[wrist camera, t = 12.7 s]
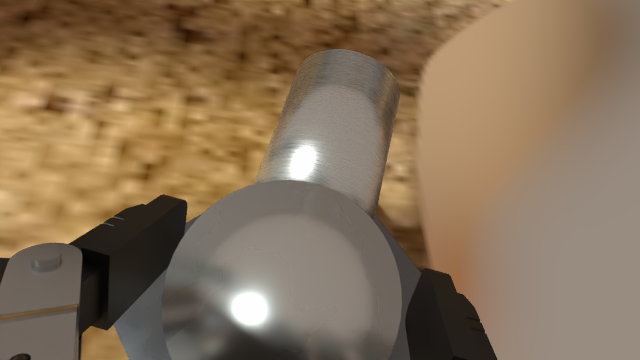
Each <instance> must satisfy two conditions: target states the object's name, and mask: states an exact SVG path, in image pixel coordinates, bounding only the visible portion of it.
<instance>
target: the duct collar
mask: <svg viewBox="0 0 640 360" xmlns="http://www.w3.org/2000/svg"><path fill="white" fill-rule="evenodd" d="M253 185H254V184H253ZM201 215H202V214H201ZM201 215H199V216H198V217H196V218H194V219H192V220H191V221H189V222H187V223H186V224H185V232H184V235H185V234H186V232H187V231H188V229H189V228H190V227H191V226H192V224H193V223H194V222H195V221H196V220H197V219H198V218H199V217H200V216H201ZM374 222H375V224H376V225H377V226H378V228H379V229H380V230H381V232H382V233H383V235H384V237H385V239H386V240H387V242H388V244H389V246H390V248H391V251H392V253H393V255H394V258H395V261H396V264H397V268H398V271H399V277H400V283H401V293H402V308H401V320H400V325H399V329H398V334H397V338H396V341H395V343H394V346H393V349H392V352H391V354H390V356H389V358H388V360H410V355H409V348H408V341H407V334H406V327H405V318H406V312H407V308H408V305H409V303H410V300H411V298H412V295H413V293H414V290H415V288H416V285H417V283H418V281H419V278H420V276H421V272H420V271H419V270H418V268H417V267H416V266H415V265H414V263H413V262H412V261H411V260H410V258H409V257H408V256H407V254H406V253H405V252H404V251H403V249H402V248H401V247H400V246H399V244H398V243H397V242H396V240H395V239H394V238H393V237H392V235H391V234H390V233H389V232H388V230H387V229H386V228H385V227H384V225H383V224H382V223H381V221H380V220H379V219H378V218H377V216H376V215H375V219H374ZM167 270H168V268H167V269H166V270H165V271H164V272H163V273H162V274H161V275H160V276H159V277H158V278H157V279H156V280H155V281H154V282H153V283H152V285H151V286H150V287H149V288H148V289H147V290H146V291H145V292H144V293H143V294H142V295H141V296H140V297H139V298H138V299H137V300H136V301H135V302H134V303H133V304H132V305H131V306H130V307H129V308H128V310H127V311H126V312H125V313H124V314H123V315H122V316H121V317H120V318H119V319H118V320H117V321H116V322H115V323H114V326H115V328H116V331H117V333H118V335H119V337H120V340H121V342H122V344H123V346H124V348H125V351H126V353H127V355H128V357H129V360H172V359H171V357H170V354H169V351H168V348H167V345H166V341H165V338H164V332H163V325H162V305H161V303H162V294H163V286H164V282H165V278H166V273H167Z"/></svg>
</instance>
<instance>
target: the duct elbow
mask: <svg viewBox="0 0 640 360" xmlns="http://www.w3.org/2000/svg"><path fill="white" fill-rule="evenodd" d="M399 97H400V90H399V86H398V83H397V81H396V79H395V77H394V76H393V74H392V73H391V72H390V71H389V70H388V69H387V68H386V67H385V66H384V65H383V64H381V63H380V62H379V61H377V60H375V59H374V58H372V57H370V56H368V55H365V54H363V53H360V52H356V51H352V50H346V49H328V50H323V51H319V52H316V53H314V54H312V55H310V56H308V57H307V58H306V59H305V60H304V61H303V62H302V63H301V64H300V66H299V68H298V70H297V73H296V75H295V78H294V81H293V83H292V86H291V88H290V91H289V94H288V96H287V99H286V101H285V104H284V107H283V109H282V112H281V114H280V117H279V120H278V122H277V125H276V127H275V130H274V133H273V135H272V138H271V140H270V143H269V146H268V148H267V151H266V153H265V156H264V159H263V161H262V164H261V166H260V169H259V172H258V174H257V177H256V179H255V182H254V185H250V186H247V187H244V188H242V189H239V190H237V191H235V192H233V193H231V194H229V195H227V196H226V197H224V198H222V199H221V200H219V201H218V202H216V203H215V204H214V205H212V206H211V207H210V208H208V209H207V210H206V211H205V212H204V213H203V214H202V215H201V216H200V217H199V218H198V219H197V220H196V221H195V222H194V223H193V224H192V226H191V227H190V228H189V229H188V231H187V232H186V234H185V235H184V237H183V238H182V239H181V241H180V243H179V245H178V247H177V248H176V250H175V252H174V254H173V257H172V259H171V262H170V264H169V267H168V270H167V273H166V278H165V282H164V286H163V294H162V303H161V305H162V325H163V332H164V338H165V341H166V345H167V348H168V351H169V354H170V357H171V359H172V360H388V358H389V356H390V354H391V352H392V349H393V346H394V343H395V341H396V338H397V334H398V329H399V325H400V320H401V308H402V293H401V283H400V277H399V271H398V268H397V264H396V261H395V258H394V255H393V253H392V251H391V248H390V246H389V244H388V242H387V240H386V239H385V237H384V235H383V233H382V232H381V230H380V229H379V228H378V226H377V225H376V224H375V222H374V219H375V215H376V210H377V205H378V200H379V195H380V190H381V186H382V181H383V176H384V171H385V166H386V161H387V156H388V152H389V147H390V142H391V137H392V132H393V127H394V122H395V118H396V113H397V108H398V103H399Z"/></svg>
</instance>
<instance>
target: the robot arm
mask: <svg viewBox="0 0 640 360" xmlns="http://www.w3.org/2000/svg"><path fill="white" fill-rule="evenodd" d="M186 215H187V202H186V201H185V200H182V199H178V198H175V197H171V196H168V195H164V194H163V195H160V196H159V197H157V198H156V199H154V200H153V201H151V202H150V203H148V204H147V205H144V204H141V205H137V206H134V207H130V208H127V209H125V210H123V211H121V212H120V213H118V214H116V215H115V216H114V217H113V218H110V219H108V220H107V221H105V222H104V224H100V225H99V226H97V227H95V228H94V229H92V230H91V231H89V232H87V233H86V234H84V235H82V236H81V237H79V238H78V239H76V240H74V241H73V242H71V243H69V244H64V243H46V244H40V245H35V246H31V247H28V248H26V249H23V250H21V251H19V252H18V253H16V254H15V255H13V256H12V257H11V258H0V360H81V357H82V333H83V332H84V331H85V330H87V329H88V328H89V327H90V326H94V327H97V328H100V329H104V330H108V329H109V328H110V327H111V326H112V325H113V324H114V323H115V322H116V321H117V320H118V319H119V318H120V317H121V316H122V315H123V314H124V313H125V312H126V311H127V310H128V308H129V307H130V306H131V305H132V304H133V303H134V302H135V301H136V300H137V299H138V298H139V297H140V296H141V295H142V294H143V293H144V292H145V291H146V290H147V289H148V288H149V287H150V286H151V285H152V283H153V282H154V281H155V280H156V279H157V278H158V277H159V276H160V275H161V274H162V273H163V272H164V271H165V270H166V269H167V268H168V267H169V264H170V262H171V259H172V257H173V254H174V252H175V250H176V248H177V247H178V245H179V243H180V241H181V239H182V238H183V237H184V232H185V224H186ZM405 327H406V334H407V341H408V348H409V355H410V360H497V358H496V355H495V353H494V351H493V349H492V346H491V344H490V342H489V339H488V337H487V335H486V334H485V330H484V328H483V326H482V323H480V319H479V316H478V314H477V312H476V310H475V308H474V306H473V305H472V304H471V303H470V302H469V301H468V299H466V297H465V296H464V295H463V294H459V293H457V292H456V289H455V286H454V284H453V281H452V279H451V276H450V275H449V274H446V273H442V272H439V271H435V270H431V269H428V268H425V269H424V270H423V271H422V273H421V276H420V278H419V281H418V283H417V285H416V288H415V290H414V293H413V295H412V298H411V300H410V303H409V305H408V308H407V312H406V318H405Z"/></svg>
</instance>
